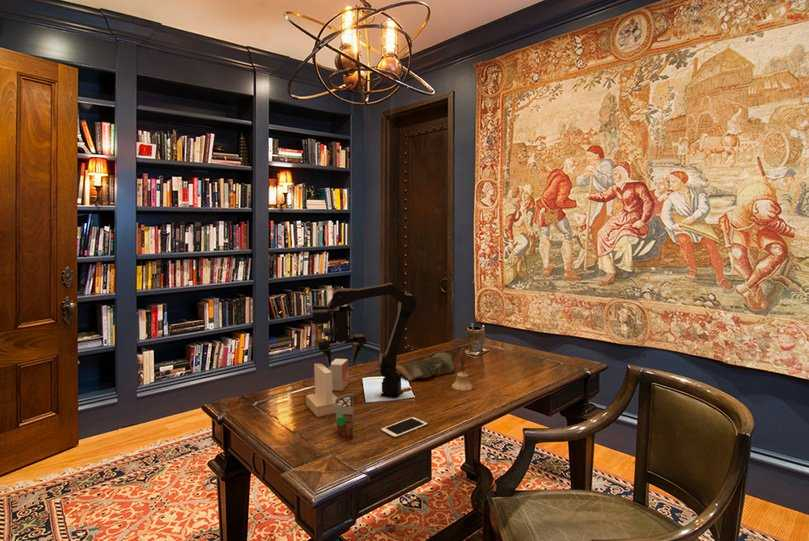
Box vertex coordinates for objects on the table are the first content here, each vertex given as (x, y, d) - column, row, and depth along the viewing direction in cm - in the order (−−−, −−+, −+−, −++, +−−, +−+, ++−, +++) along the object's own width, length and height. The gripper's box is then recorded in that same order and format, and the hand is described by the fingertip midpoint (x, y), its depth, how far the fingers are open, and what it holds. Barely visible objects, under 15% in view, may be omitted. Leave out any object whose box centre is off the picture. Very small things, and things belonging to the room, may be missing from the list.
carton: (331, 399, 170) (331, 392, 170) (343, 411, 160) (343, 403, 159) (306, 404, 166) (306, 397, 166) (317, 417, 155) (316, 409, 155)
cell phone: (378, 431, 145) (378, 428, 145) (413, 418, 154) (413, 415, 154) (394, 440, 139) (394, 437, 139) (429, 426, 149) (429, 423, 149)
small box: (342, 391, 179) (341, 364, 178) (328, 390, 180) (328, 364, 179) (349, 384, 187) (348, 358, 186) (335, 383, 188) (335, 358, 187)
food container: (335, 423, 151) (334, 393, 150) (354, 422, 151) (353, 392, 150) (332, 440, 138) (331, 408, 137) (353, 439, 139) (352, 407, 138)
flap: (330, 392, 170) (329, 361, 169) (341, 403, 159) (341, 370, 158) (306, 396, 165) (305, 365, 164) (316, 408, 155) (315, 374, 154)
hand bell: (477, 387, 183) (477, 347, 181) (464, 392, 177) (464, 352, 175) (460, 382, 188) (460, 344, 187) (447, 387, 182) (447, 348, 181)
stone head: (385, 365, 202) (435, 350, 218) (389, 384, 202) (438, 368, 217) (409, 366, 186) (461, 350, 202) (413, 387, 186) (465, 370, 201)
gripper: (355, 316, 181) (356, 355, 182) (309, 321, 172) (310, 362, 173) (367, 321, 171) (367, 362, 173) (318, 327, 162) (319, 370, 164)
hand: (341, 364), depth 171 cm, fingers open, 9 cm apart
